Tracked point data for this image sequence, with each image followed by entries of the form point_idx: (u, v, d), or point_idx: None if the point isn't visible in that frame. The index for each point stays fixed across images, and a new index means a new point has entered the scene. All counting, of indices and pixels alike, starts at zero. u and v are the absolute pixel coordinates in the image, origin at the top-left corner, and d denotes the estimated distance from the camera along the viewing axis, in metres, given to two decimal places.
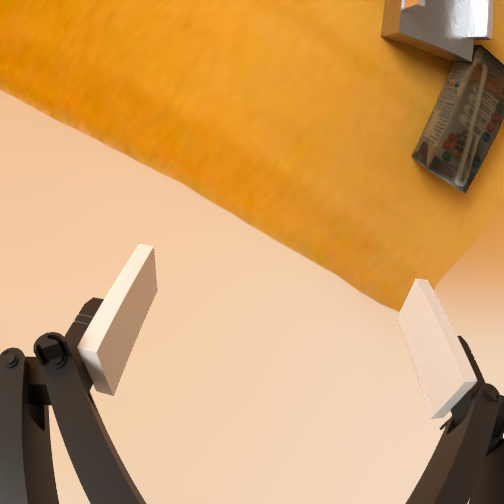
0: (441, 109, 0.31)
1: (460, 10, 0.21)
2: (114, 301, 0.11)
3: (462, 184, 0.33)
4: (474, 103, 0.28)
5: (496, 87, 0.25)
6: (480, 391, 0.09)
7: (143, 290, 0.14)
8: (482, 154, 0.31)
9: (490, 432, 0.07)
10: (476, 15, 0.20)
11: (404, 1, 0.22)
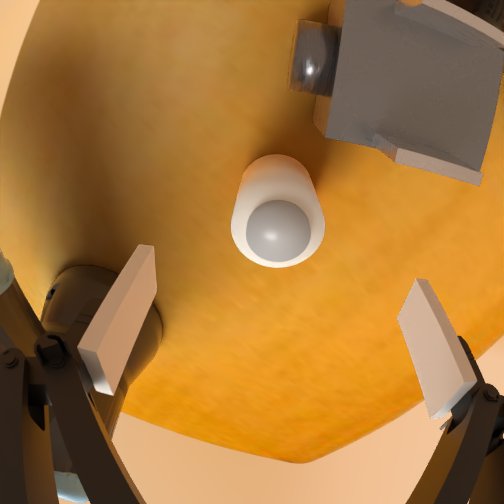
0: None
1: (432, 47, 0.14)
2: (114, 301, 0.11)
3: None
4: None
5: None
6: (480, 391, 0.09)
7: (143, 290, 0.14)
8: None
9: (490, 432, 0.07)
10: (449, 28, 0.12)
11: None
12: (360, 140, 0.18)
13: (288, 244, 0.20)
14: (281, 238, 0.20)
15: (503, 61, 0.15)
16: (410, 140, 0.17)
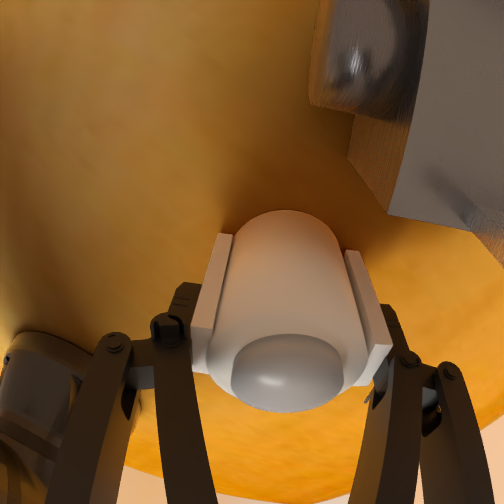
0: None
1: None
2: (214, 283, 0.13)
3: None
4: None
5: None
6: (396, 360, 0.10)
7: None
8: None
9: (420, 400, 0.09)
10: None
11: None
12: (448, 218, 0.09)
13: (303, 396, 0.11)
14: (292, 390, 0.11)
15: None
16: None
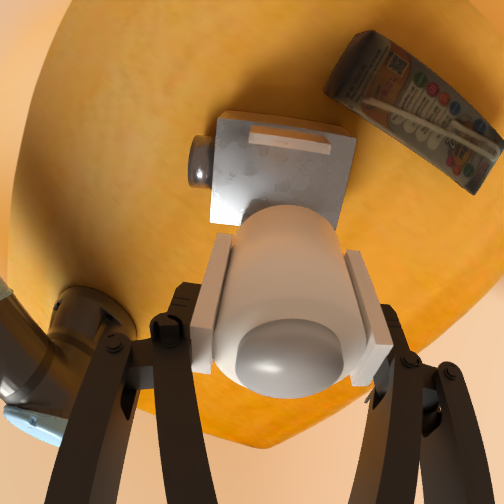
0: None
1: (283, 152, 0.26)
2: (213, 283, 0.13)
3: (498, 153, 0.24)
4: (415, 123, 0.24)
5: (393, 81, 0.22)
6: (396, 360, 0.10)
7: None
8: (472, 115, 0.23)
9: (420, 400, 0.09)
10: None
11: None
12: (233, 222, 0.30)
13: (305, 381, 0.11)
14: (294, 375, 0.11)
15: None
16: None
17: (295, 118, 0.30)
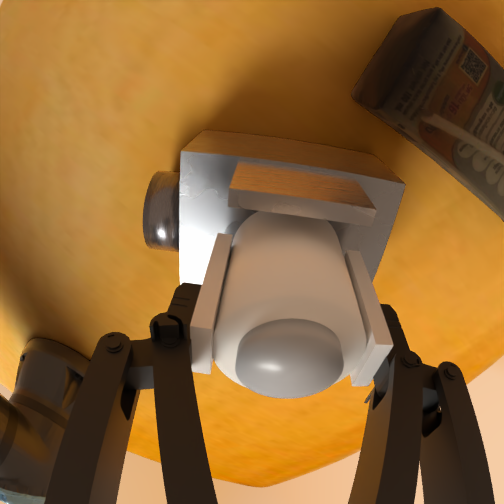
0: None
1: None
2: (213, 283, 0.13)
3: None
4: (487, 158, 0.14)
5: (466, 92, 0.12)
6: (396, 360, 0.10)
7: None
8: None
9: (420, 400, 0.09)
10: None
11: None
12: None
13: (305, 381, 0.11)
14: (294, 375, 0.11)
15: None
16: None
17: (306, 142, 0.20)
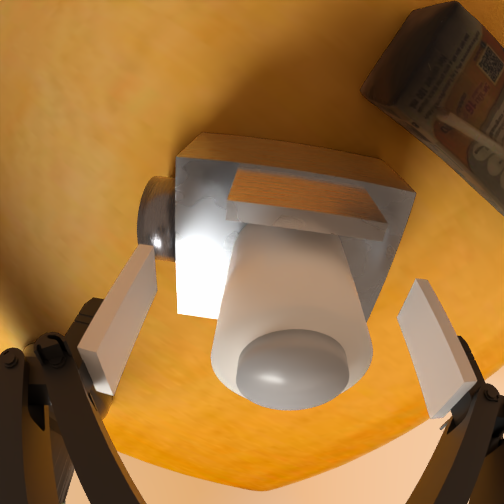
0: (482, 196, 0.17)
1: None
2: (114, 301, 0.11)
3: None
4: (502, 162, 0.13)
5: (484, 91, 0.11)
6: (480, 391, 0.09)
7: (143, 290, 0.14)
8: None
9: (490, 432, 0.07)
10: None
11: None
12: (212, 315, 0.20)
13: (309, 392, 0.11)
14: (298, 387, 0.11)
15: None
16: None
17: (310, 146, 0.19)
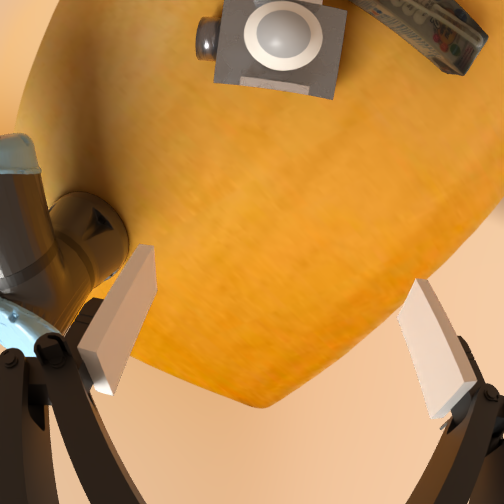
0: (403, 33, 0.26)
1: None
2: (114, 301, 0.11)
3: (482, 40, 0.22)
4: (401, 0, 0.22)
5: None
6: (480, 391, 0.09)
7: (143, 290, 0.14)
8: (453, 4, 0.20)
9: (490, 432, 0.07)
10: None
11: None
12: (235, 82, 0.28)
13: (292, 41, 0.19)
14: (286, 36, 0.19)
15: (368, 8, 0.25)
16: (270, 78, 0.28)
17: None
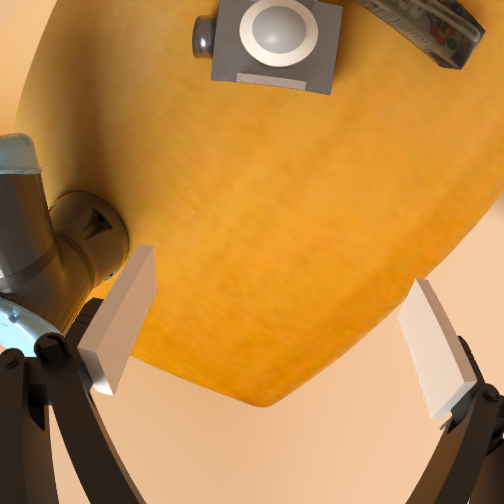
0: (399, 27, 0.26)
1: None
2: (114, 301, 0.11)
3: (478, 34, 0.21)
4: None
5: None
6: (480, 391, 0.09)
7: (143, 290, 0.14)
8: None
9: (490, 432, 0.07)
10: None
11: None
12: (232, 79, 0.28)
13: (288, 37, 0.19)
14: (281, 31, 0.19)
15: (365, 2, 0.25)
16: (267, 75, 0.28)
17: None
